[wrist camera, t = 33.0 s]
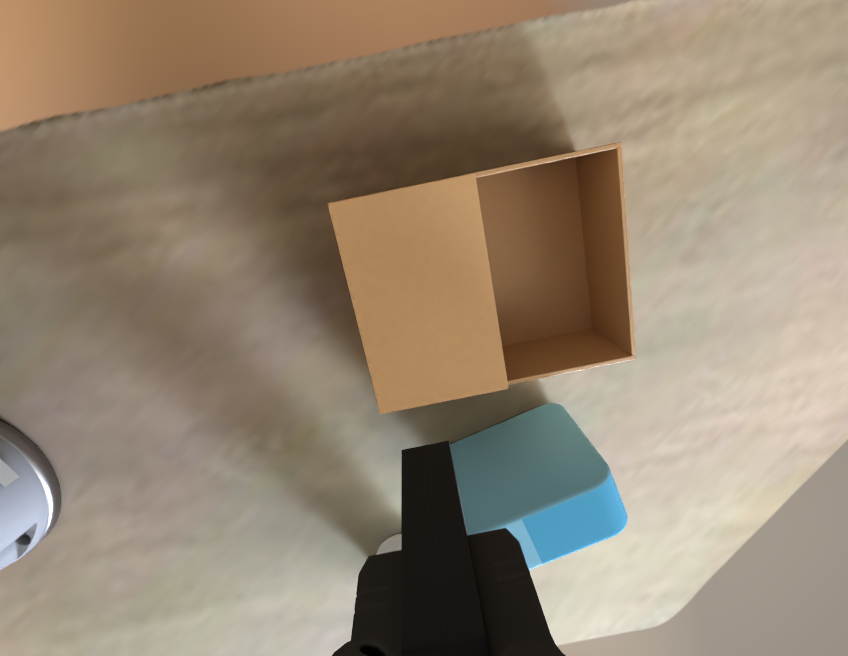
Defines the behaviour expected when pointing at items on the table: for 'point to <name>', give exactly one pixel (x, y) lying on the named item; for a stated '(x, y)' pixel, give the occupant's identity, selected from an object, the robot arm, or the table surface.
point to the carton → (559, 261)
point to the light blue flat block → (538, 484)
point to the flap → (422, 292)
